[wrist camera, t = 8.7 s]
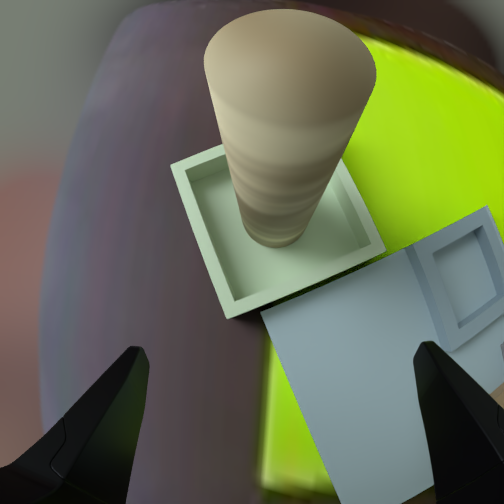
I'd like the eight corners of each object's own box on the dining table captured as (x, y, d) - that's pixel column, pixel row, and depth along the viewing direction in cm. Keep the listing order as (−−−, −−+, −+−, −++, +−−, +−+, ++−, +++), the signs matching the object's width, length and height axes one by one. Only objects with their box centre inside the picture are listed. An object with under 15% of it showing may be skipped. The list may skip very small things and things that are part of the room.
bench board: (347, 518, 15) (359, 546, 12) (260, 312, 18) (259, 312, 15) (529, 396, 16) (557, 403, 12) (478, 209, 19) (506, 194, 16)
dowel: (274, 262, 18) (298, 159, 6) (227, 214, 19) (169, 59, 6) (321, 215, 19) (405, 68, 6) (274, 171, 19) (285, -5, 7)
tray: (231, 318, 18) (227, 319, 16) (180, 181, 20) (170, 165, 18) (372, 258, 19) (386, 250, 16) (310, 133, 21) (314, 113, 18)
